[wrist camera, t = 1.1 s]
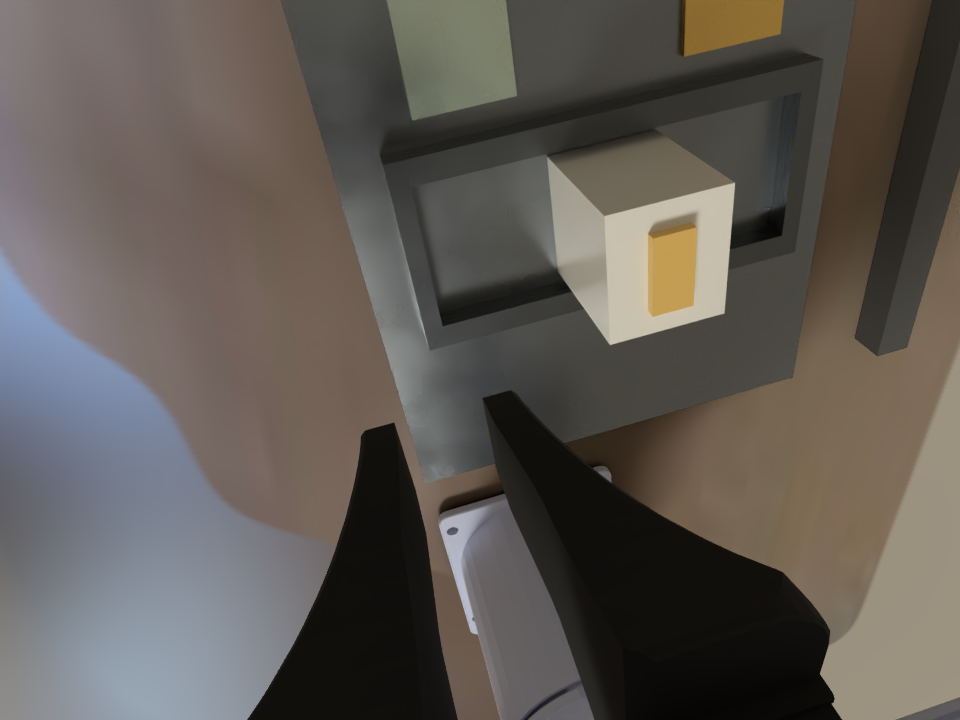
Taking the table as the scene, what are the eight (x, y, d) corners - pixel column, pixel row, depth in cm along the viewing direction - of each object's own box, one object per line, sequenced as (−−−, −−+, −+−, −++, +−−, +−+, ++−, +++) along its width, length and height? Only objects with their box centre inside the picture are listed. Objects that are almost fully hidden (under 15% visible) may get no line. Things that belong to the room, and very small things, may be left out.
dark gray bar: (883, 330, 30) (906, 347, 29) (854, 338, 30) (877, 356, 29) (996, -102, 20) (1037, -101, 19) (954, -93, 20) (994, -91, 19)
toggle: (655, 246, 23) (729, 318, 19) (558, 271, 23) (614, 350, 19) (655, 130, 20) (741, 186, 17) (547, 156, 20) (609, 221, 16)
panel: (776, 360, 29) (804, 388, 28) (420, 462, 28) (429, 498, 26) (865, -249, 17) (924, -262, 16) (244, -130, 16) (239, -131, 14)
